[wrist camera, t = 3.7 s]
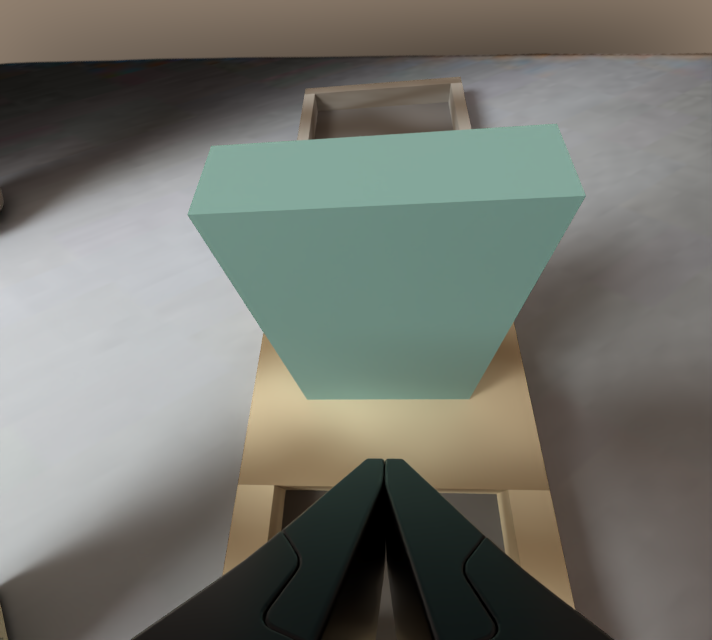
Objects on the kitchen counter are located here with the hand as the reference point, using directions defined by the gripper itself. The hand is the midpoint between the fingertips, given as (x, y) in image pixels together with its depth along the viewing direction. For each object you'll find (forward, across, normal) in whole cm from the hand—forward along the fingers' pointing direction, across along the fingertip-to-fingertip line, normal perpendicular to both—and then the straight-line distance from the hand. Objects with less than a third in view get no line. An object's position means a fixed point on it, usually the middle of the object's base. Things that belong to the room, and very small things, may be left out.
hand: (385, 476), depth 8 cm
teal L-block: (+11, 0, +2) cm, 12 cm away
